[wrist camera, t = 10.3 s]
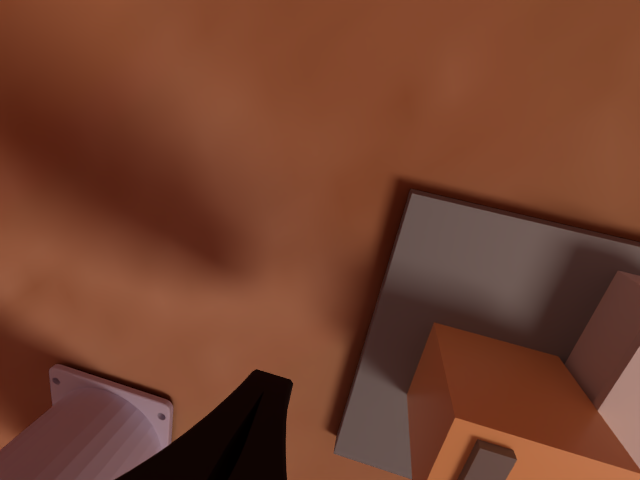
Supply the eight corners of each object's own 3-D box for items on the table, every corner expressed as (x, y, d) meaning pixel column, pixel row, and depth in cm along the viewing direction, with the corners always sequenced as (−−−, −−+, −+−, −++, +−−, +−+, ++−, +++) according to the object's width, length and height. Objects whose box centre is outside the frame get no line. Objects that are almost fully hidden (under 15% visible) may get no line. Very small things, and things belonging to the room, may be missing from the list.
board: (545, 504, 17) (584, 601, 14) (336, 437, 19) (323, 510, 15) (708, 258, 13) (833, 311, 9) (410, 188, 14) (417, 211, 10)
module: (518, 428, 15) (580, 575, 10) (406, 394, 16) (414, 518, 11) (558, 356, 14) (651, 485, 9) (434, 322, 14) (456, 426, 9)
